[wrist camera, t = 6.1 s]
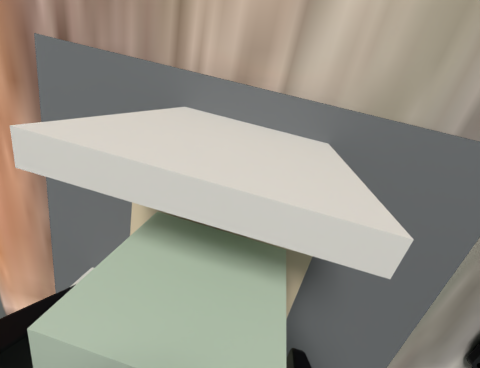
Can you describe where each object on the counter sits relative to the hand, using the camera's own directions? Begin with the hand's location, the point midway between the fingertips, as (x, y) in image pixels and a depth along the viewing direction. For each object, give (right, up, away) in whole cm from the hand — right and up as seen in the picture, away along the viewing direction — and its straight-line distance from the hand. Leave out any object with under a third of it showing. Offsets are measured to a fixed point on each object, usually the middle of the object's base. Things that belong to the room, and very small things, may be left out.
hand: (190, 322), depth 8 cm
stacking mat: (+1, 0, +7) cm, 7 cm away
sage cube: (0, +1, +2) cm, 2 cm away
